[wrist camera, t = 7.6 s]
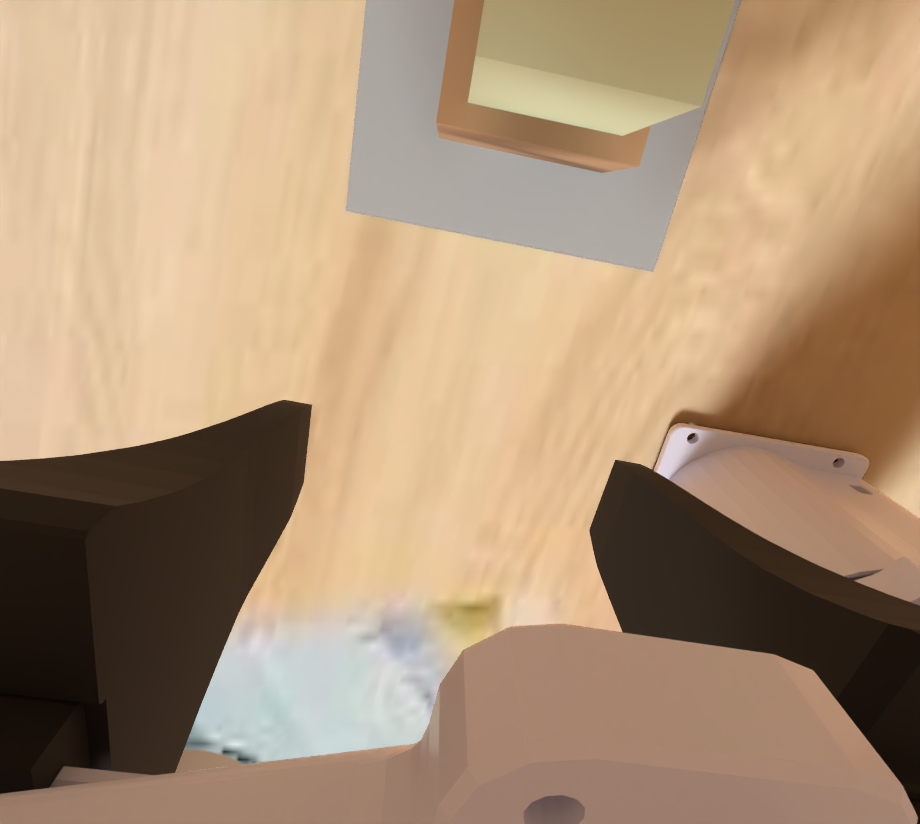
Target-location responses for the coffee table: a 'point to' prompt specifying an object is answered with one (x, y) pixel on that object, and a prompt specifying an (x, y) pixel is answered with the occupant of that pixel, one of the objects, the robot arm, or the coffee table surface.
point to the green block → (598, 59)
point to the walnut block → (518, 129)
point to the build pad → (497, 158)
